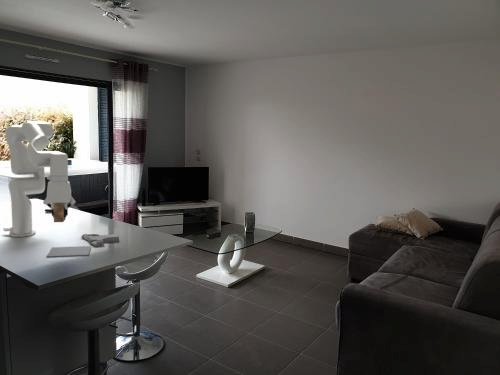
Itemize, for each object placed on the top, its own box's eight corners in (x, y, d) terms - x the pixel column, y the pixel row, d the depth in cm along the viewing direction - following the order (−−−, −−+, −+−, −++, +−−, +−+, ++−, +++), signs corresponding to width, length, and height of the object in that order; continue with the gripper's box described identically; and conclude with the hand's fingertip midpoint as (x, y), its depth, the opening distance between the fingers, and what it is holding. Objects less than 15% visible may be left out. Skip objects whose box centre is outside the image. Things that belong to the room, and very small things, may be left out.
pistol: (124, 237, 207) (94, 242, 196) (124, 243, 207) (94, 248, 196) (108, 229, 221) (79, 233, 210) (108, 235, 222) (80, 239, 211)
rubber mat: (46, 257, 177) (46, 256, 177) (52, 248, 190) (52, 247, 190) (88, 255, 183) (88, 254, 182) (91, 247, 196) (91, 246, 196)
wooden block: (53, 222, 179) (53, 203, 178) (56, 219, 186) (56, 200, 185) (63, 222, 180) (62, 203, 179) (65, 218, 187) (65, 200, 186)
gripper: (37, 179, 175) (38, 219, 177) (77, 180, 180) (77, 218, 182) (41, 177, 182) (42, 215, 184) (79, 178, 187) (79, 215, 189)
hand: (59, 216), depth 183 cm, fingers closed on wooden block, 4 cm apart
